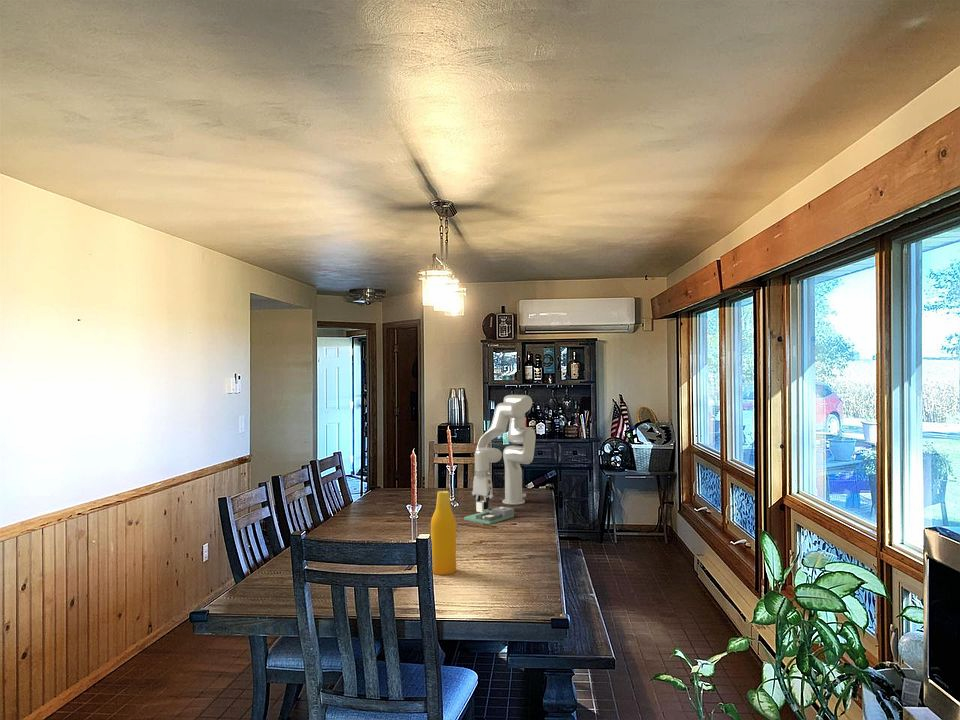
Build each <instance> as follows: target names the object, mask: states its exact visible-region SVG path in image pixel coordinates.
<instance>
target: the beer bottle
mask: <svg viewBox="0 0 960 720" xmlns="http://www.w3.org/2000/svg"><path fill="white" fill-rule="evenodd" d="M436 494H437V496H436V505H435V509H434V512H433V515H432V517H431V522H430V541H431V540H432V555H433V573H432V574H433V575H438V576H446V575H453V574H455V572H456V570H457V540H456V539H457V531H456V530H457V522H456V517H455V513H454V512H453V510H452V508H451V507H452V505H451V499H450V492H449V491H448V490H440V491H439V490H438V491H437V493H436Z"/></svg>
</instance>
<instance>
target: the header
mask: <svg viewBox="0 0 960 720" xmlns="http://www.w3.org/2000/svg"><path fill="white" fill-rule="evenodd" d="M499 518H502V514H497V513H492V512H486V513H483V514H479V515H476V519H481V520H482V519H484V520H486V521H492V520H495V519H499Z"/></svg>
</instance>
